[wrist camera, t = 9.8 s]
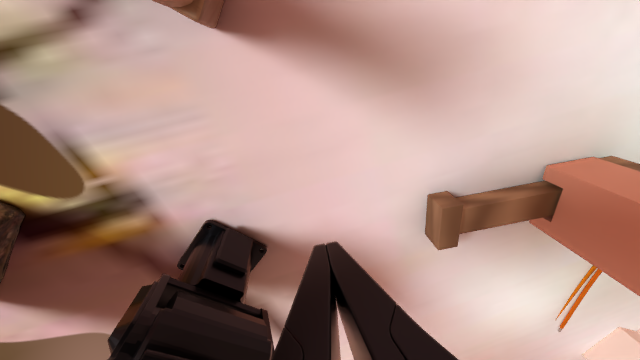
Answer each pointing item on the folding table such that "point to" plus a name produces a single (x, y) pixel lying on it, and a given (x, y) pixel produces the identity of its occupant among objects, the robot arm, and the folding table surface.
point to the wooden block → (197, 10)
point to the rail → (492, 208)
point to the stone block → (8, 233)
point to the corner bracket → (616, 346)
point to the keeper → (598, 216)
